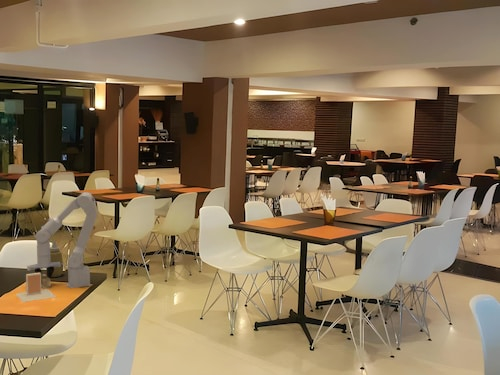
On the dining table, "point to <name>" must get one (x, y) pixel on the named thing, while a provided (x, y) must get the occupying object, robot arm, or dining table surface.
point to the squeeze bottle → (56, 259)
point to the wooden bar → (46, 282)
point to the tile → (33, 283)
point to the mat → (35, 296)
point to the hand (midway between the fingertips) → (44, 283)
